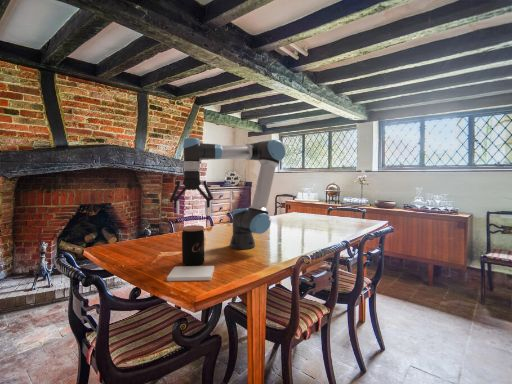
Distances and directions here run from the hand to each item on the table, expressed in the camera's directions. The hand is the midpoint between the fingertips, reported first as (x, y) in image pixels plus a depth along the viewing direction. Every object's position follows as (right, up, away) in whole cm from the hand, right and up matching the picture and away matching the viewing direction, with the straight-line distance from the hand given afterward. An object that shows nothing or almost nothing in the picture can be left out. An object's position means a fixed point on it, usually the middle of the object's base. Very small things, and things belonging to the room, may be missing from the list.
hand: (192, 214), depth 141 cm
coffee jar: (0, -24, +2) cm, 25 cm away
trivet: (+3, -25, -14) cm, 29 cm away
